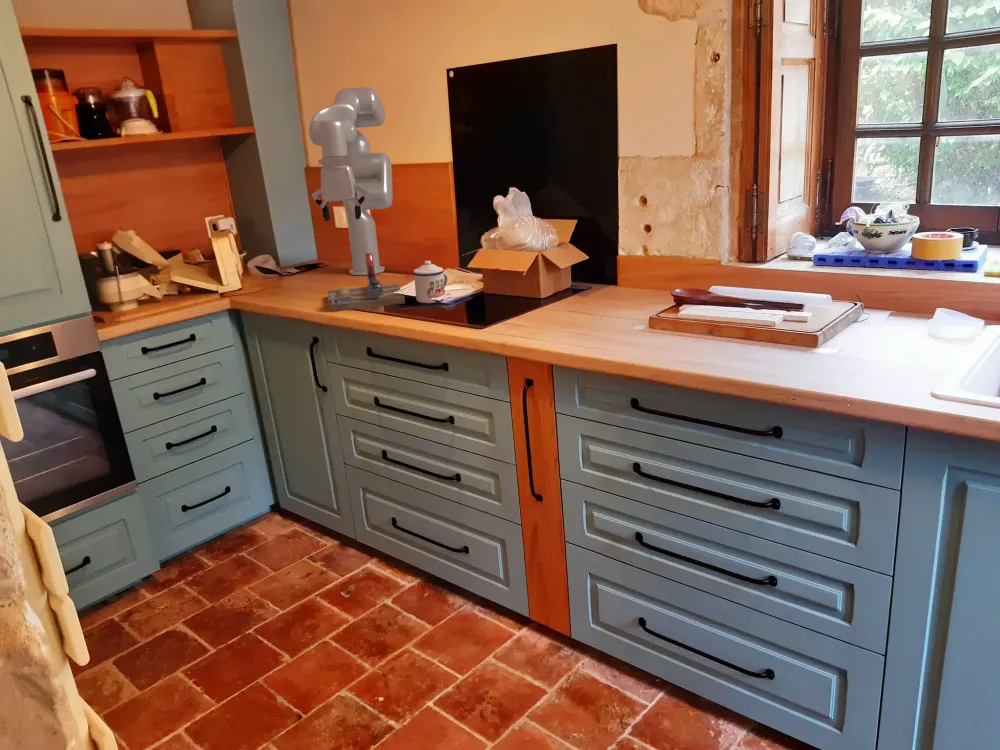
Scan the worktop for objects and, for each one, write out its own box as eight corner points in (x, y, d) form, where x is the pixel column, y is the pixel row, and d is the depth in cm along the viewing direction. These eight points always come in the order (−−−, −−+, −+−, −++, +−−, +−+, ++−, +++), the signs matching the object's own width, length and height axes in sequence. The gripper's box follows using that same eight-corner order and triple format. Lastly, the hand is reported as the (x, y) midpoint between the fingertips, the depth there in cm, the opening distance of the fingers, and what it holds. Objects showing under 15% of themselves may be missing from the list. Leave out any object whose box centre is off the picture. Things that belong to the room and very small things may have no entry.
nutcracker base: (328, 296, 238) (326, 277, 236) (398, 289, 242) (396, 270, 240) (329, 312, 218) (326, 291, 216) (405, 304, 222) (403, 283, 220)
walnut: (337, 300, 223) (335, 287, 222) (350, 299, 224) (349, 285, 223) (337, 303, 219) (335, 290, 218) (351, 302, 220) (349, 288, 219)
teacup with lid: (430, 304, 220) (426, 265, 216) (409, 301, 226) (405, 262, 222) (459, 296, 228) (456, 258, 224) (438, 293, 234) (435, 255, 230)
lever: (364, 283, 242) (360, 253, 239) (378, 282, 243) (375, 252, 240) (368, 298, 221) (364, 266, 218) (384, 297, 222) (381, 264, 219)
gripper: (304, 164, 227) (312, 222, 232) (361, 161, 226) (367, 219, 231) (311, 163, 234) (318, 219, 239) (366, 160, 233) (372, 216, 238)
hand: (342, 219), depth 235 cm, fingers open, 9 cm apart
